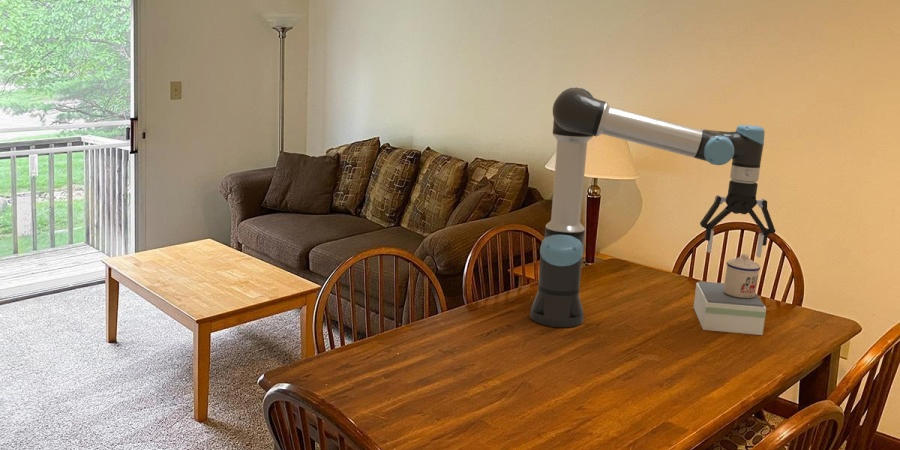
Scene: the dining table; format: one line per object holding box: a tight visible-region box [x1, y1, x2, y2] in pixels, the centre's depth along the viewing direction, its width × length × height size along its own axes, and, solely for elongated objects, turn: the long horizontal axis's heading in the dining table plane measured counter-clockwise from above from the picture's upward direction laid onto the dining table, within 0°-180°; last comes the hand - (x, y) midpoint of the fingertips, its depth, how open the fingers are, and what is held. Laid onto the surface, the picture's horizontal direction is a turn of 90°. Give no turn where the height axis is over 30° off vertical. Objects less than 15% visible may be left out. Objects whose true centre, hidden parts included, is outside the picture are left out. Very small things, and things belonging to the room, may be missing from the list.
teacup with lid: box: [723, 253, 761, 298], centre depth 227 cm, size 12×9×12 cm
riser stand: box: [693, 280, 767, 336], centre depth 229 cm, size 16×20×9 cm
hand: (733, 254), depth 226 cm, fingers open, 13 cm apart
